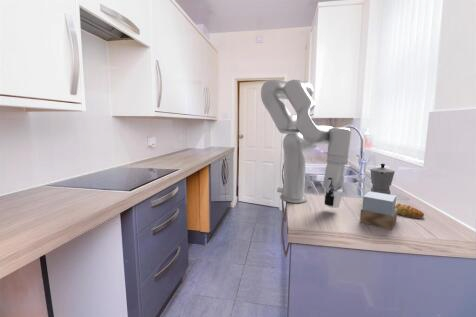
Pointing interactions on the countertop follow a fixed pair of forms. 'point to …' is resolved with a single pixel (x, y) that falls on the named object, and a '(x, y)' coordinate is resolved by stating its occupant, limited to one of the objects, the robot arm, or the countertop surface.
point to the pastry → (408, 211)
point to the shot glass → (335, 197)
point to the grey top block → (379, 203)
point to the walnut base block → (378, 219)
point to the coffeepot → (381, 179)
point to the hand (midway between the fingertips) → (332, 202)
